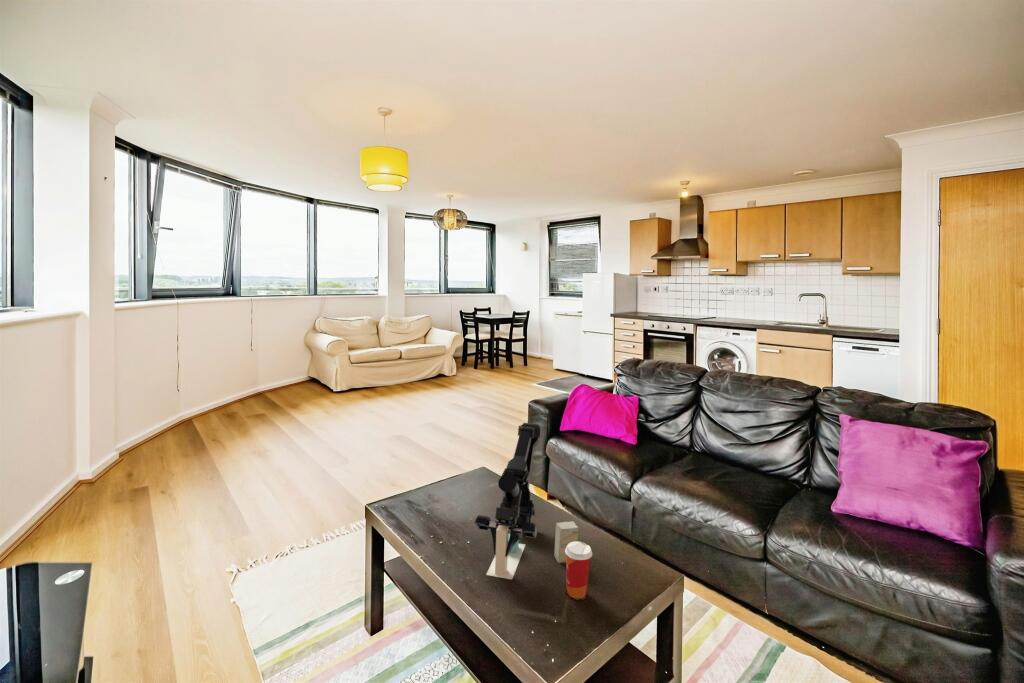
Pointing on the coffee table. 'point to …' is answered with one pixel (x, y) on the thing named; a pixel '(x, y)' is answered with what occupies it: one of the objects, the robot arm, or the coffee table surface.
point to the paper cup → (577, 568)
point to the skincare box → (564, 538)
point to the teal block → (514, 545)
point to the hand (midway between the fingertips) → (500, 555)
